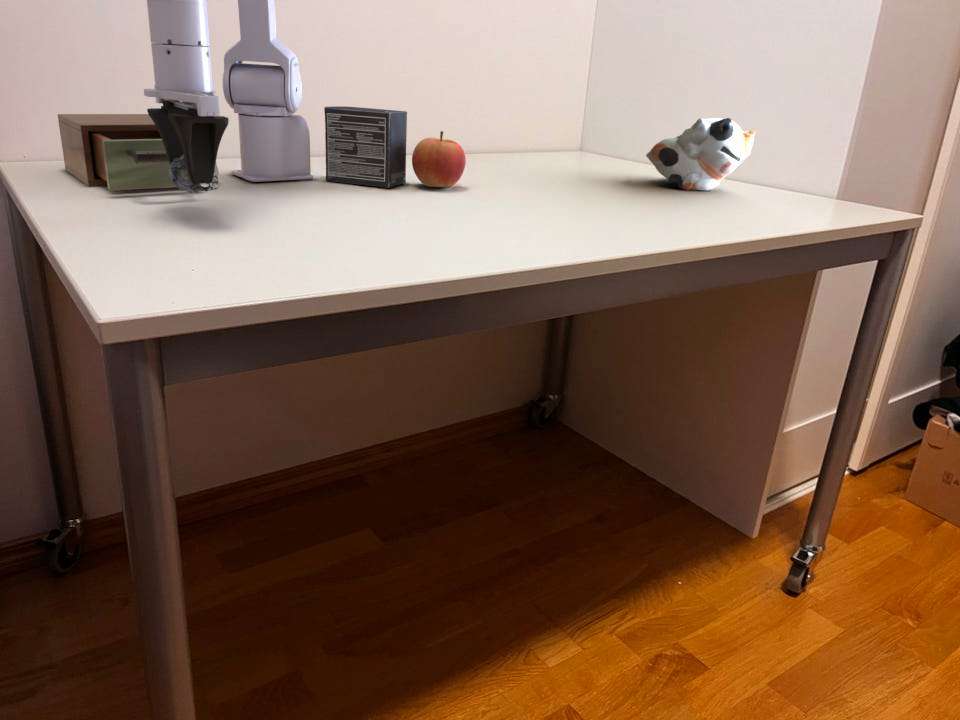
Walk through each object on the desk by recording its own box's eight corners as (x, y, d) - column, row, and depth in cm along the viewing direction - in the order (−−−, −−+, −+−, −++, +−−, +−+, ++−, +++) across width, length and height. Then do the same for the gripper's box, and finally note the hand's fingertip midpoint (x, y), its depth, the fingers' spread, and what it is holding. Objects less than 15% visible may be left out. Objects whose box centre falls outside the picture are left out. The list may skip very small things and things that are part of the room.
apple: (440, 181, 118) (442, 127, 115) (475, 189, 112) (478, 133, 109) (399, 184, 112) (400, 128, 109) (434, 193, 107) (436, 135, 104)
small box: (408, 183, 114) (409, 110, 110) (389, 189, 108) (390, 112, 104) (345, 175, 117) (344, 104, 113) (323, 181, 111) (322, 106, 107)
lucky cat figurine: (693, 177, 137) (744, 110, 130) (725, 216, 130) (781, 147, 122) (632, 152, 130) (682, 79, 122) (662, 192, 122) (717, 117, 114)
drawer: (214, 192, 94) (211, 144, 92) (121, 198, 88) (115, 146, 86) (170, 170, 107) (166, 127, 105) (85, 174, 100) (79, 128, 98)
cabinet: (184, 181, 105) (179, 124, 102) (88, 186, 98) (80, 125, 95) (154, 166, 114) (149, 114, 111) (65, 170, 107) (57, 114, 104)
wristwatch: (208, 202, 86) (179, 165, 86) (229, 175, 83) (200, 137, 82) (188, 209, 84) (159, 171, 83) (210, 182, 81) (179, 143, 80)
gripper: (120, 40, 81) (135, 169, 86) (162, 45, 71) (176, 192, 76) (187, 43, 85) (197, 166, 91) (236, 49, 75) (244, 188, 80)
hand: (192, 178), depth 84 cm, fingers closed on wristwatch, 5 cm apart
